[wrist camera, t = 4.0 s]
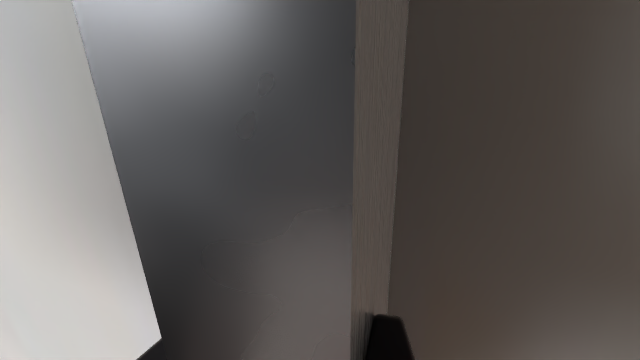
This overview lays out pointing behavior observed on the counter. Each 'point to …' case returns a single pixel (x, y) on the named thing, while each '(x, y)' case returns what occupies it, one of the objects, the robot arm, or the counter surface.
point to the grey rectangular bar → (255, 165)
